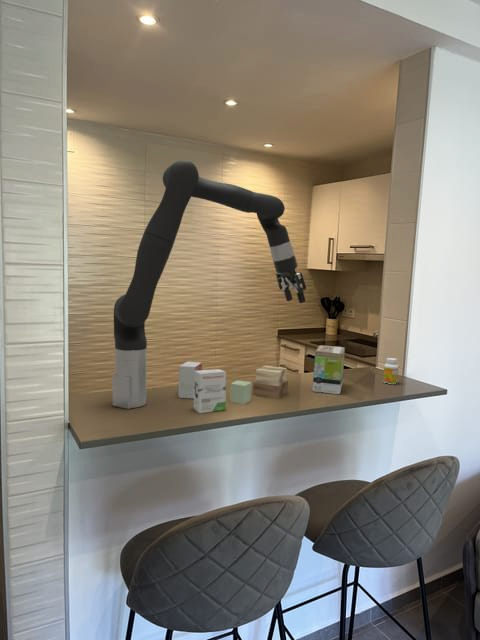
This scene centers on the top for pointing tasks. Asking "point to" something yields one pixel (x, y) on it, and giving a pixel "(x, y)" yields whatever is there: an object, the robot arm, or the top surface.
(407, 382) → the top surface
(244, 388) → the sage block
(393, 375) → the supplement bottle
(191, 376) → the small box
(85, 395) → the top surface
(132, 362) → the robot arm
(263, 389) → the walnut block
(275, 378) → the maple block
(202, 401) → the ink box
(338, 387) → the tea box
